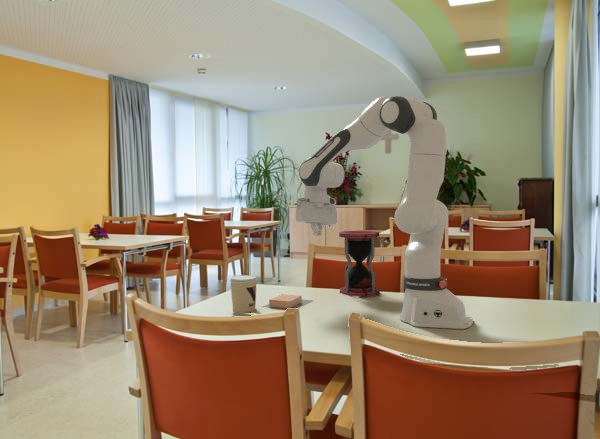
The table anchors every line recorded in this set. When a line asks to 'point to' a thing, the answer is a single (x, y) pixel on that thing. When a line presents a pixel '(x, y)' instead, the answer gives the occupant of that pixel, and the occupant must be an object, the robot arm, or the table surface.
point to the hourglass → (359, 263)
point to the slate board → (294, 306)
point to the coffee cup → (243, 293)
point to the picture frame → (285, 301)
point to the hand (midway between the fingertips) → (317, 235)
